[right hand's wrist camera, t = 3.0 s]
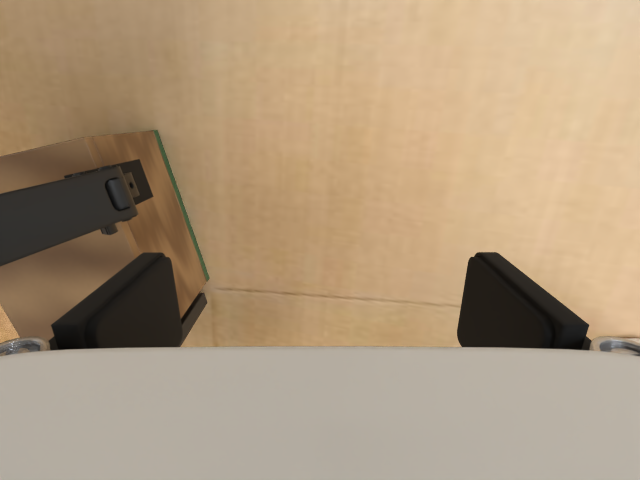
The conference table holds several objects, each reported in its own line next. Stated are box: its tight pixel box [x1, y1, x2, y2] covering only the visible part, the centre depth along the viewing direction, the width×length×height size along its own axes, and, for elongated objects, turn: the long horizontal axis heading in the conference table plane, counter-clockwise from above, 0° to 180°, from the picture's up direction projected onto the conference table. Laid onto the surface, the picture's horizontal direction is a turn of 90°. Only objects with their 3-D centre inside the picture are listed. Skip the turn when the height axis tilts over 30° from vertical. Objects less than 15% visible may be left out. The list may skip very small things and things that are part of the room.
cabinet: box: [0, 130, 209, 341], centre depth 29 cm, size 15×11×10 cm
